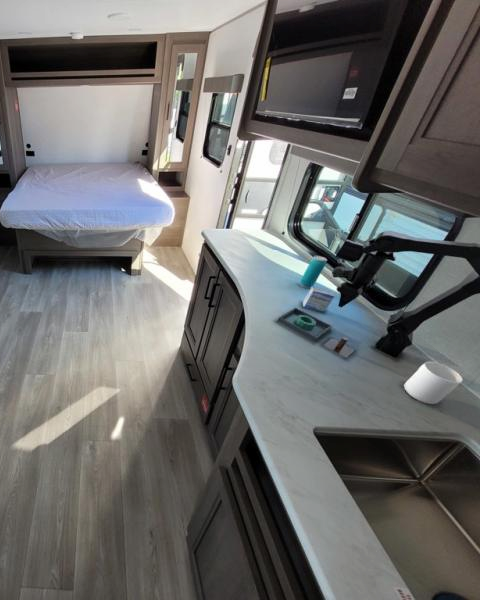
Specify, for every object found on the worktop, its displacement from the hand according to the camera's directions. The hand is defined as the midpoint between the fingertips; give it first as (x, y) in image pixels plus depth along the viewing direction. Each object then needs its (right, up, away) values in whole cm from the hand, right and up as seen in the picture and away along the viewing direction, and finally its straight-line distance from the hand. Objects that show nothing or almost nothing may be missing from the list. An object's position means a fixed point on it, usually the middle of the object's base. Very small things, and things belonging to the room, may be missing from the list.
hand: (345, 303), depth 116 cm
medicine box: (+1, -2, +18) cm, 18 cm away
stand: (-5, -17, -3) cm, 18 cm away
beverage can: (+9, +8, +33) cm, 36 cm away
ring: (-11, -9, +6) cm, 16 cm away
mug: (+8, -28, -18) cm, 34 cm away
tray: (-11, -9, +7) cm, 16 cm away
